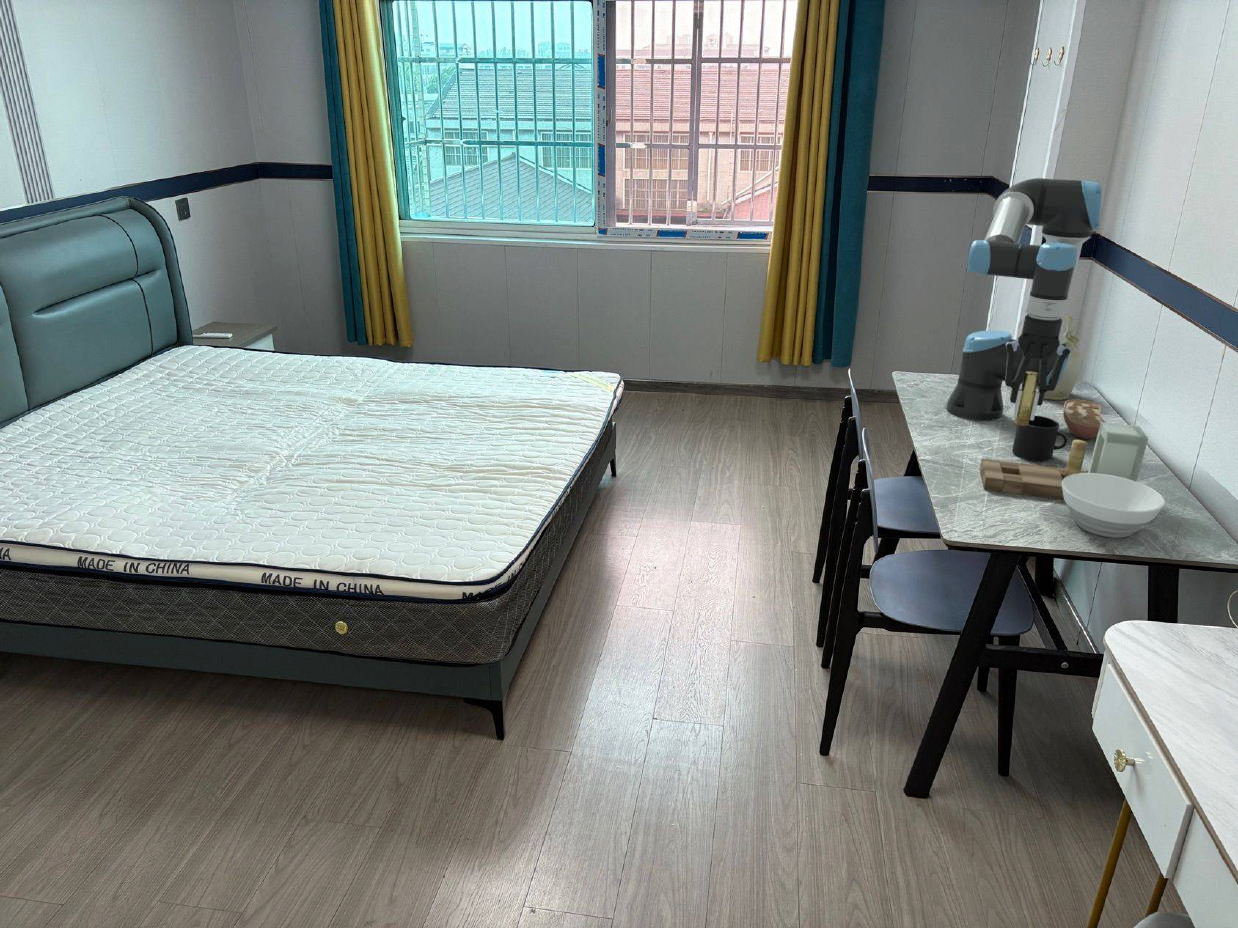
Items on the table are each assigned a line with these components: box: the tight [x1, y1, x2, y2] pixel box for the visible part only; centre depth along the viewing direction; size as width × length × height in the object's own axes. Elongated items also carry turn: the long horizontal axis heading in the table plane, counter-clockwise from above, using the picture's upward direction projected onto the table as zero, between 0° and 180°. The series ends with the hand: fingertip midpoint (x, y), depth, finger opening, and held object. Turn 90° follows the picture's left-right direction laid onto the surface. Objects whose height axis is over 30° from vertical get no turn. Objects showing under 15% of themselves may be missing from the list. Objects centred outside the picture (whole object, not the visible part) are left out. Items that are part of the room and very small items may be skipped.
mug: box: [1012, 415, 1068, 462], centre depth 226 cm, size 9×12×9 cm
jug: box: [1036, 313, 1083, 401], centre depth 270 cm, size 15×16×25 cm
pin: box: [1013, 371, 1039, 426], centre depth 203 cm, size 3×3×12 cm
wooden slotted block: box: [979, 439, 1089, 501], centre depth 207 cm, size 12×30×12 cm, turn 74°
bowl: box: [1062, 473, 1166, 539], centre depth 190 cm, size 20×20×8 cm
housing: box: [1087, 422, 1149, 482], centre depth 203 cm, size 8×8×13 cm
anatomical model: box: [1062, 399, 1107, 440], centre depth 246 cm, size 23×10×5 cm, turn 158°
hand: (1022, 417), depth 205 cm, fingers closed on pin, 3 cm apart
